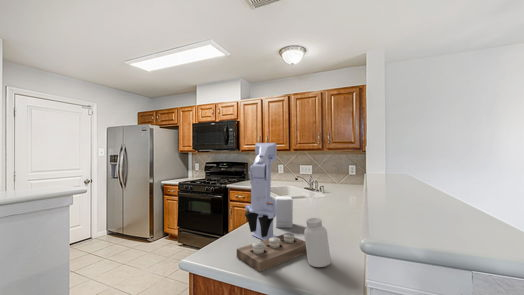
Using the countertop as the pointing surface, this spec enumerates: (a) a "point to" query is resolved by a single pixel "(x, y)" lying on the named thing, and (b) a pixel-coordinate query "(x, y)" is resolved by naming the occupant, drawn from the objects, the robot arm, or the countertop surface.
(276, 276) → the countertop surface
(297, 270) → the countertop surface
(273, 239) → the middle knob
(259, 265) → the knob board
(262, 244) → the outer knob
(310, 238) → the pill bottle
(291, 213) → the supplement box
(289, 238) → the outer knob
